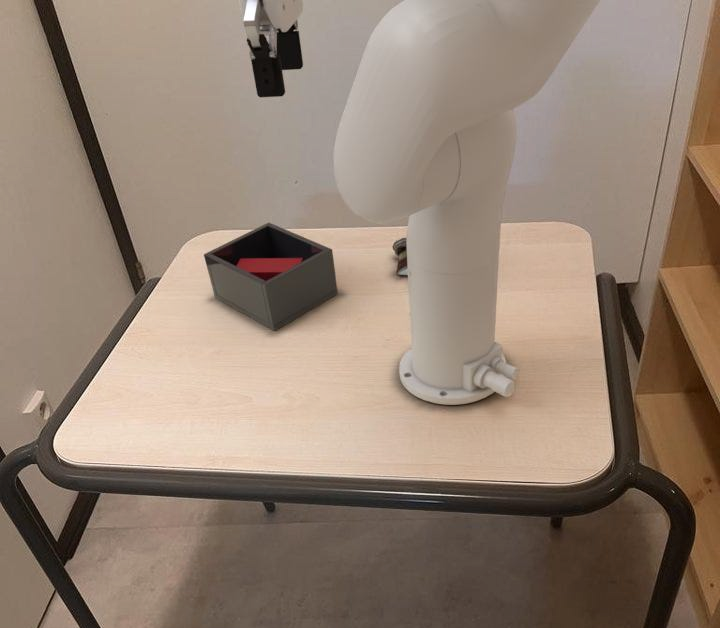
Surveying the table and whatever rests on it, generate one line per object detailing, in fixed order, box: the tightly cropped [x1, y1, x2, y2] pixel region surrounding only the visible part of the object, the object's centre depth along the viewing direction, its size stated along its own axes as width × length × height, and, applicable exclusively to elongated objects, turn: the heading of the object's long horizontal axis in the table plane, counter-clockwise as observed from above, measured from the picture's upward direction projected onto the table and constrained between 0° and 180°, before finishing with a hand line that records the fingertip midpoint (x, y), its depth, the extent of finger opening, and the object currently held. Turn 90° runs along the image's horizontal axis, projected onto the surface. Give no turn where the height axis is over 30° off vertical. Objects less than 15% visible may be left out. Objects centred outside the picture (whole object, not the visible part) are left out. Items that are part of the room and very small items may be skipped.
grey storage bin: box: [203, 222, 339, 332], centre depth 99 cm, size 14×12×7 cm
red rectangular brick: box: [237, 258, 303, 281], centre depth 100 cm, size 9×4×4 cm, turn 81°
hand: (281, 81), depth 85 cm, fingers open, 9 cm apart
